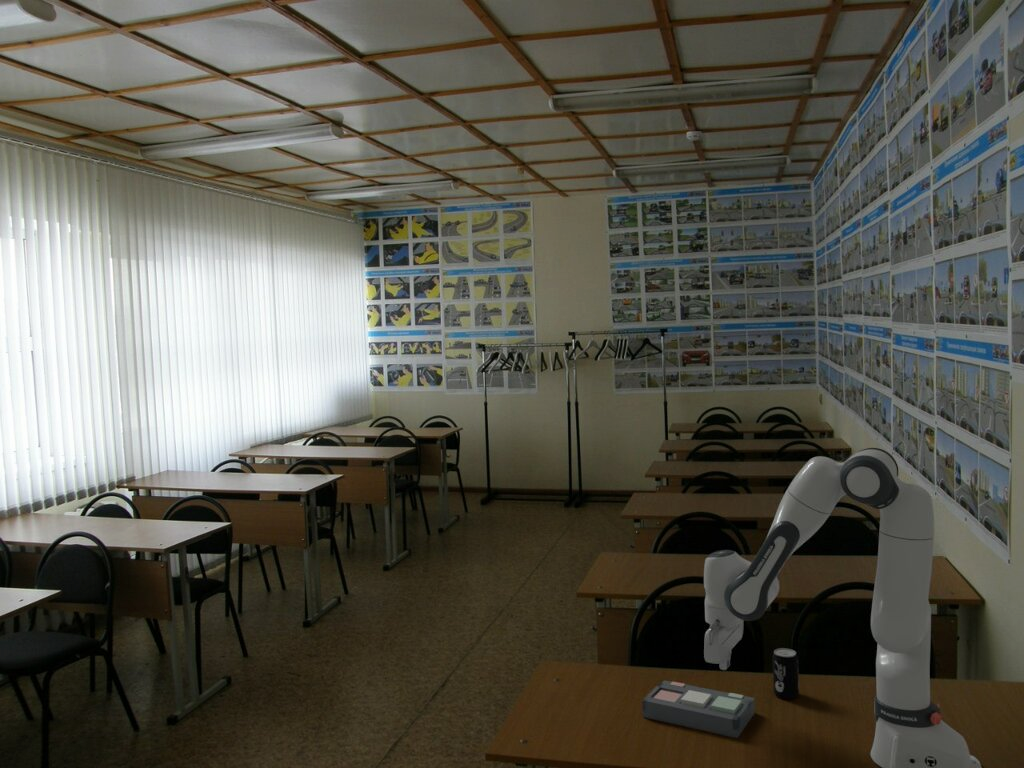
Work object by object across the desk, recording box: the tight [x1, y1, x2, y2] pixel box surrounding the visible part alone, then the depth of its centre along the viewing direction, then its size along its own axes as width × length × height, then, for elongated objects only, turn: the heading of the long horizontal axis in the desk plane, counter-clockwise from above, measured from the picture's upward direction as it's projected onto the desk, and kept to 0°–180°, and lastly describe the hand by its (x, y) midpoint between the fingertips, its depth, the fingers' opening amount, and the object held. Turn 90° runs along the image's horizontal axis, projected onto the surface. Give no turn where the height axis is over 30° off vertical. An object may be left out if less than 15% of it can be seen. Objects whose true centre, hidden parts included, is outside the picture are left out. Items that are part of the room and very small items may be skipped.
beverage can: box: [772, 647, 800, 701], centre depth 223 cm, size 7×7×12 cm
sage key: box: [711, 696, 742, 715], centre depth 209 cm, size 6×6×2 cm
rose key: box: [653, 690, 682, 702], centre depth 218 cm, size 6×6×2 cm
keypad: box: [641, 680, 756, 739], centre depth 215 cm, size 25×15×4 cm, turn 57°
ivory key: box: [681, 690, 711, 708], centre depth 213 cm, size 6×6×2 cm
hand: (724, 667), depth 208 cm, fingers closed
